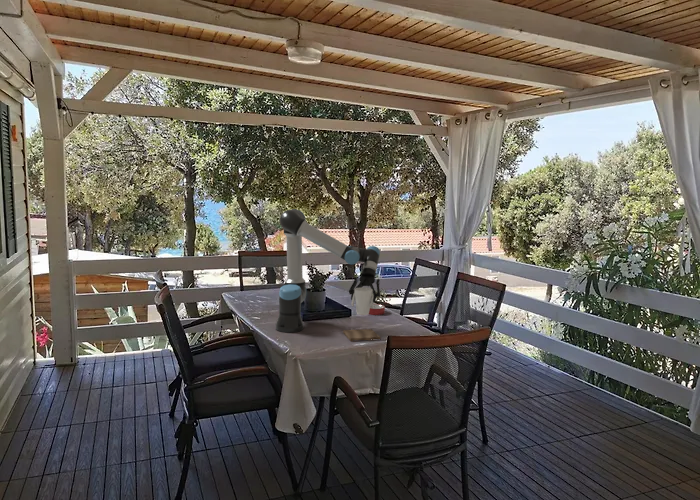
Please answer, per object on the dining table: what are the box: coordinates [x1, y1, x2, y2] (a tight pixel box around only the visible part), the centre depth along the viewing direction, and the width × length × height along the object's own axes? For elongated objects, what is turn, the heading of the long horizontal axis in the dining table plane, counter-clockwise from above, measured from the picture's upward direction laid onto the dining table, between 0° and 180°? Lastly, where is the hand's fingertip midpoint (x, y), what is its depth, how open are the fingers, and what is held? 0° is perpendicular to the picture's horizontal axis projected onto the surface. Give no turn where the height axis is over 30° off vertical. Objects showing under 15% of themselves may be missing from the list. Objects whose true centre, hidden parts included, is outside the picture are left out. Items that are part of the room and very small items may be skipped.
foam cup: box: [354, 287, 373, 316], centre depth 254 cm, size 10×9×13 cm
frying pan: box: [368, 303, 386, 316], centre depth 316 cm, size 32×13×6 cm, turn 39°
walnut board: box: [342, 328, 381, 342], centre depth 256 cm, size 16×15×2 cm
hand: (361, 305), depth 251 cm, fingers closed on foam cup, 9 cm apart
